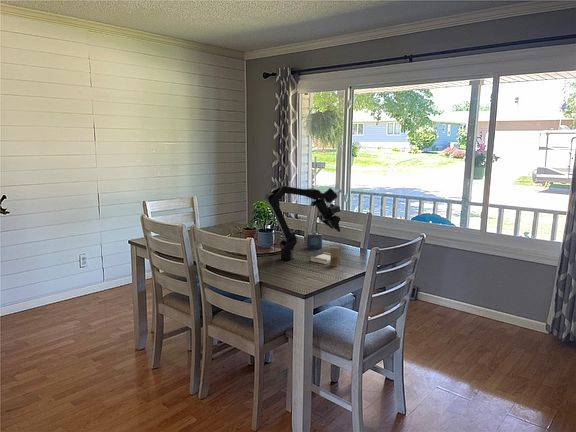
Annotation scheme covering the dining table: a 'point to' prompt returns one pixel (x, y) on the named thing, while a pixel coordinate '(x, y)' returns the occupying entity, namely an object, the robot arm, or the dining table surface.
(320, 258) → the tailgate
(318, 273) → the dining table surface
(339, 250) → the walnut block
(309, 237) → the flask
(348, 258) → the dining table surface
